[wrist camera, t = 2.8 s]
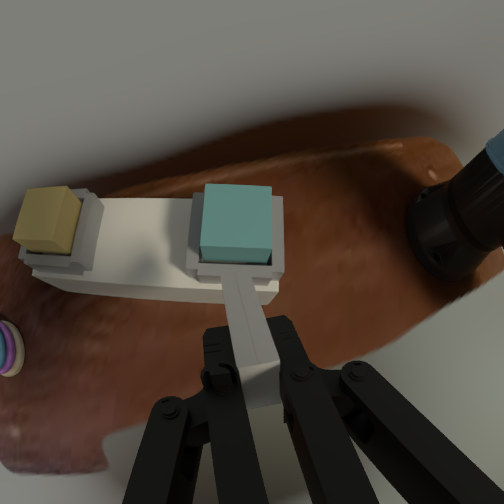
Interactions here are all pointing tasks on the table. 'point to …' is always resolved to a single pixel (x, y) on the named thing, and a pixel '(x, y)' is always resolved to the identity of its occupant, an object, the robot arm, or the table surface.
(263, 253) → the teal button
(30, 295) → the table surface
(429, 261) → the robot arm
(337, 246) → the table surface
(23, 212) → the mustard button
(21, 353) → the stacking toy
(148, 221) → the button console
